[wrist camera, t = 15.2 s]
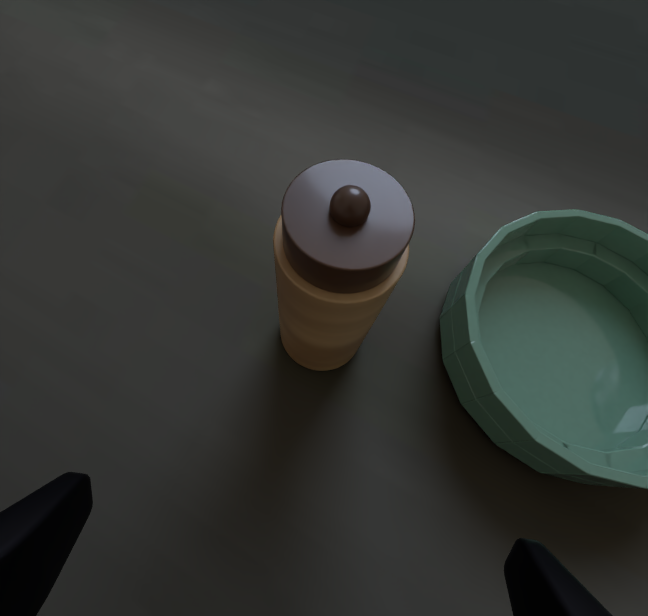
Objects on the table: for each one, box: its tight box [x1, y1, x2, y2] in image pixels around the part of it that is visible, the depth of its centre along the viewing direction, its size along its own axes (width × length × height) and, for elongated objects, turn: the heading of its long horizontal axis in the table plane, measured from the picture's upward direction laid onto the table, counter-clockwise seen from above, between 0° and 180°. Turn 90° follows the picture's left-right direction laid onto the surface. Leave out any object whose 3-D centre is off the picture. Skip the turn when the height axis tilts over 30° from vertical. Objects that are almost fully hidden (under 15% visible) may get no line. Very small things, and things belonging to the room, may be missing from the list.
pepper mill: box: [273, 159, 415, 371], centre depth 16 cm, size 5×5×12 cm
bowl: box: [440, 209, 648, 489], centre depth 20 cm, size 14×14×4 cm
